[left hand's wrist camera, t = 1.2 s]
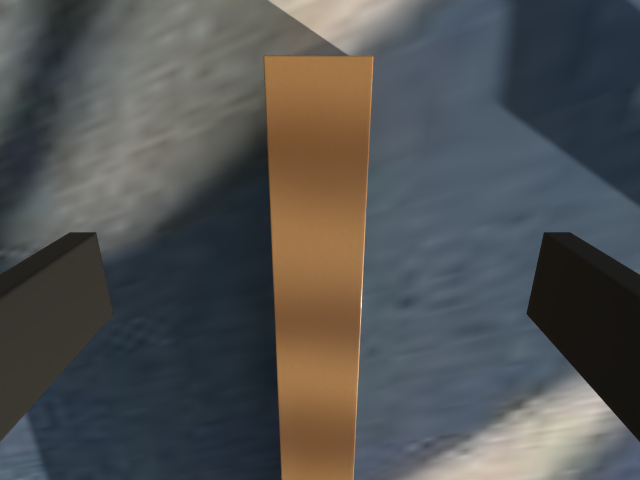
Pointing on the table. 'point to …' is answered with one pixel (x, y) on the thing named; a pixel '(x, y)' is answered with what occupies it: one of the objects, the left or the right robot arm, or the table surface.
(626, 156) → the table surface
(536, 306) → the left robot arm
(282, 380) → the bar
